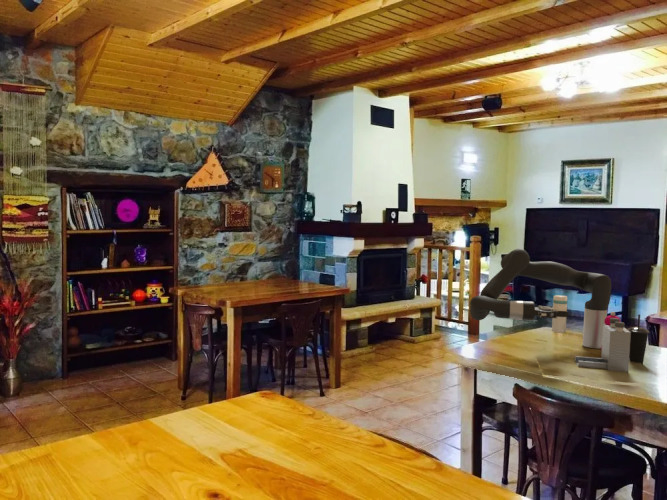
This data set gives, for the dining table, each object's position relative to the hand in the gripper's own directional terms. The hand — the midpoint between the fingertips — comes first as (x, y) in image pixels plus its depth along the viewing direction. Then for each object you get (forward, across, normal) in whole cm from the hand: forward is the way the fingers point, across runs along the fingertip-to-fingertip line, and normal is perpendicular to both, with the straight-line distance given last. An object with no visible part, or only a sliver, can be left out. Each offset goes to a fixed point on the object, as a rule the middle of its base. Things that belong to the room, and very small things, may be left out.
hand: (566, 313), depth 220 cm
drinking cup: (+29, +13, +21) cm, 38 cm away
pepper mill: (+20, +16, +21) cm, 33 cm away
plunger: (+18, +4, +8) cm, 20 cm away
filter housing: (+13, 0, +21) cm, 25 cm away
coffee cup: (-3, 0, +8) cm, 8 cm away
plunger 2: (+18, -4, +8) cm, 20 cm away
